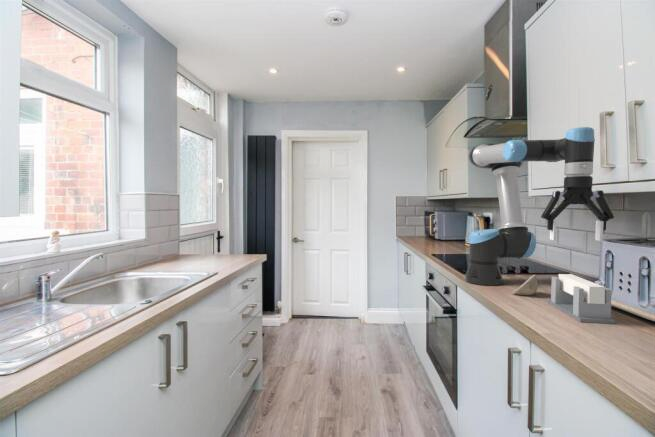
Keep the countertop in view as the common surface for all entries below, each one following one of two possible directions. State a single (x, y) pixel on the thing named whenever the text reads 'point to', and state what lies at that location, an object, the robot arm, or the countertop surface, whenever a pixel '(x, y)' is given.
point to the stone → (528, 287)
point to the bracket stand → (580, 304)
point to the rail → (591, 290)
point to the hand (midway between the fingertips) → (575, 240)
